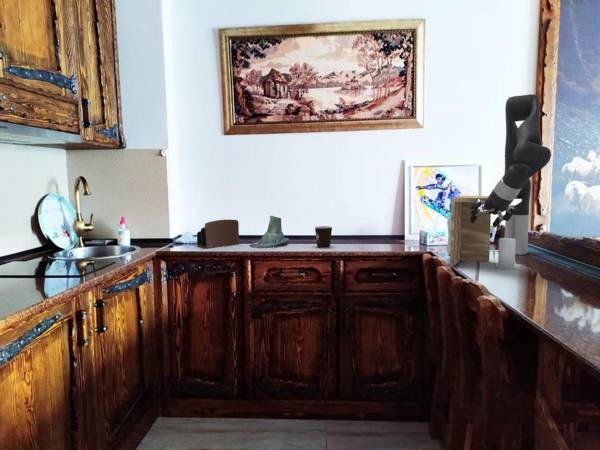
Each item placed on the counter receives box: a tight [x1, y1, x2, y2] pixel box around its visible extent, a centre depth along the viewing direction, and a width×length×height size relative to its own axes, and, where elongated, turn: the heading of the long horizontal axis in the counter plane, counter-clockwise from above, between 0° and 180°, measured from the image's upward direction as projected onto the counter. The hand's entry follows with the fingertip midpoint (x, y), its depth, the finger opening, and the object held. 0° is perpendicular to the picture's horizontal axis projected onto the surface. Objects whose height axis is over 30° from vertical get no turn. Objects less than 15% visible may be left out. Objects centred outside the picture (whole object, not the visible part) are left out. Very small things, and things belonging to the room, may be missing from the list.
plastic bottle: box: [446, 215, 451, 256], centre depth 187 cm, size 6×7×20 cm
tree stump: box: [249, 215, 290, 249], centre depth 226 cm, size 18×20×18 cm
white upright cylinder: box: [497, 237, 516, 271], centre depth 162 cm, size 6×6×11 cm
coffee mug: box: [314, 225, 333, 249], centre depth 218 cm, size 12×9×10 cm
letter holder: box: [196, 219, 240, 250], centre depth 226 cm, size 10×20×14 cm, turn 131°
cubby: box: [449, 195, 492, 268], centre depth 168 cm, size 17×12×26 cm
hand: (482, 223), depth 161 cm, fingers open, 8 cm apart
